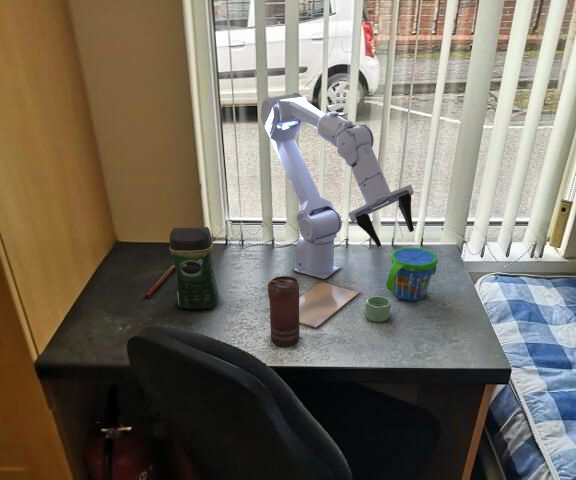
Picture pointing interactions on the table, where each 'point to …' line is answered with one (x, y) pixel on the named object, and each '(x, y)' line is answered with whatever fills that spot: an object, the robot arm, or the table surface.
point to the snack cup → (411, 272)
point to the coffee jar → (194, 267)
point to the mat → (322, 303)
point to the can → (284, 311)
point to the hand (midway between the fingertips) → (395, 238)
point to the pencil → (159, 281)
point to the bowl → (377, 308)
